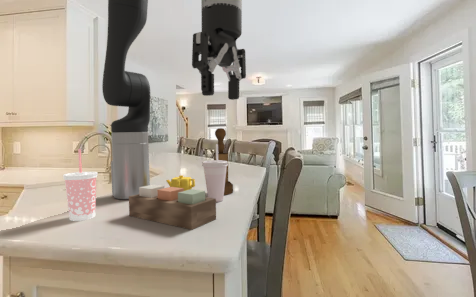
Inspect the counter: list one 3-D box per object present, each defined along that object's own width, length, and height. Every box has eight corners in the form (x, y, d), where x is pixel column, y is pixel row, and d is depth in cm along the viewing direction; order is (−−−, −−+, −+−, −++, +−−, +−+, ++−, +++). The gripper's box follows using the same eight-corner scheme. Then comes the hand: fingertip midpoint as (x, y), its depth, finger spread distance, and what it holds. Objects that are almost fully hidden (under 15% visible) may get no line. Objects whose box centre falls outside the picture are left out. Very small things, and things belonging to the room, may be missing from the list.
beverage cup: (82, 223, 54) (79, 149, 53) (57, 220, 56) (53, 149, 55) (106, 214, 60) (103, 147, 59) (82, 212, 62) (79, 147, 61)
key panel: (129, 215, 59) (128, 196, 58) (155, 207, 64) (155, 190, 64) (191, 229, 49) (191, 206, 49) (216, 219, 55) (215, 198, 55)
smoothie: (225, 203, 67) (224, 144, 66) (199, 202, 68) (197, 144, 68) (231, 197, 73) (230, 143, 73) (207, 196, 75) (206, 143, 74)
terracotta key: (157, 204, 56) (157, 189, 56) (171, 201, 59) (170, 186, 59) (171, 207, 54) (170, 191, 54) (184, 203, 57) (183, 188, 57)
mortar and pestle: (232, 195, 76) (231, 127, 75) (208, 195, 77) (207, 128, 76) (233, 190, 83) (232, 128, 82) (211, 190, 83) (209, 128, 82)
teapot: (162, 196, 76) (162, 177, 76) (169, 192, 82) (168, 174, 82) (192, 196, 76) (191, 177, 75) (196, 192, 81) (196, 174, 81)
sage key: (178, 208, 53) (177, 192, 53) (191, 204, 56) (190, 189, 56) (192, 211, 51) (192, 194, 51) (205, 206, 54) (205, 191, 54)
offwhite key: (139, 201, 59) (139, 187, 59) (153, 198, 62) (152, 184, 62) (151, 203, 57) (150, 188, 57) (164, 200, 60) (164, 185, 60)
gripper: (226, 25, 61) (226, 101, 62) (180, 0, 49) (181, 94, 50) (257, 18, 57) (256, 99, 59) (215, -11, 45) (215, 92, 46)
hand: (221, 97), depth 54 cm, fingers open, 8 cm apart
